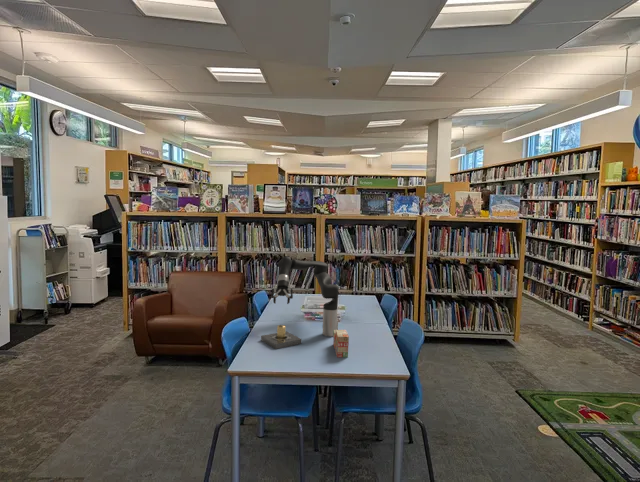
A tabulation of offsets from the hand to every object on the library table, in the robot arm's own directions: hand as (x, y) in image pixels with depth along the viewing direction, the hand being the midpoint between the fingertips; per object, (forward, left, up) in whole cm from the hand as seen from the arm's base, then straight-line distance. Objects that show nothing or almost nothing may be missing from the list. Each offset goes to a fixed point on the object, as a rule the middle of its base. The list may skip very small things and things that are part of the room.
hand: (281, 303), depth 267 cm
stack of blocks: (-13, +47, -20) cm, 53 cm away
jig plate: (+9, +16, -20) cm, 27 cm away
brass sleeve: (+9, +16, -20) cm, 27 cm away
